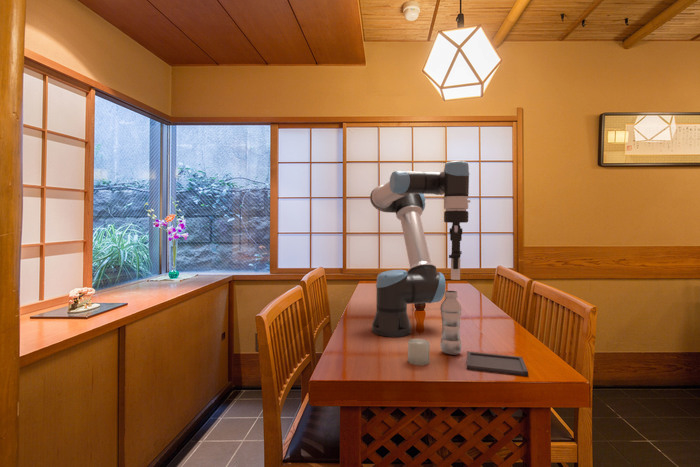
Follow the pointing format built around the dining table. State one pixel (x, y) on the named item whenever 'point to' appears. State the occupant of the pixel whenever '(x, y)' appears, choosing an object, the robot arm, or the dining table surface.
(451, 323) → the plastic bottle
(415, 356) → the white rounded cylinder
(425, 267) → the robot arm
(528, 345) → the dining table surface
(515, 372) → the tray
